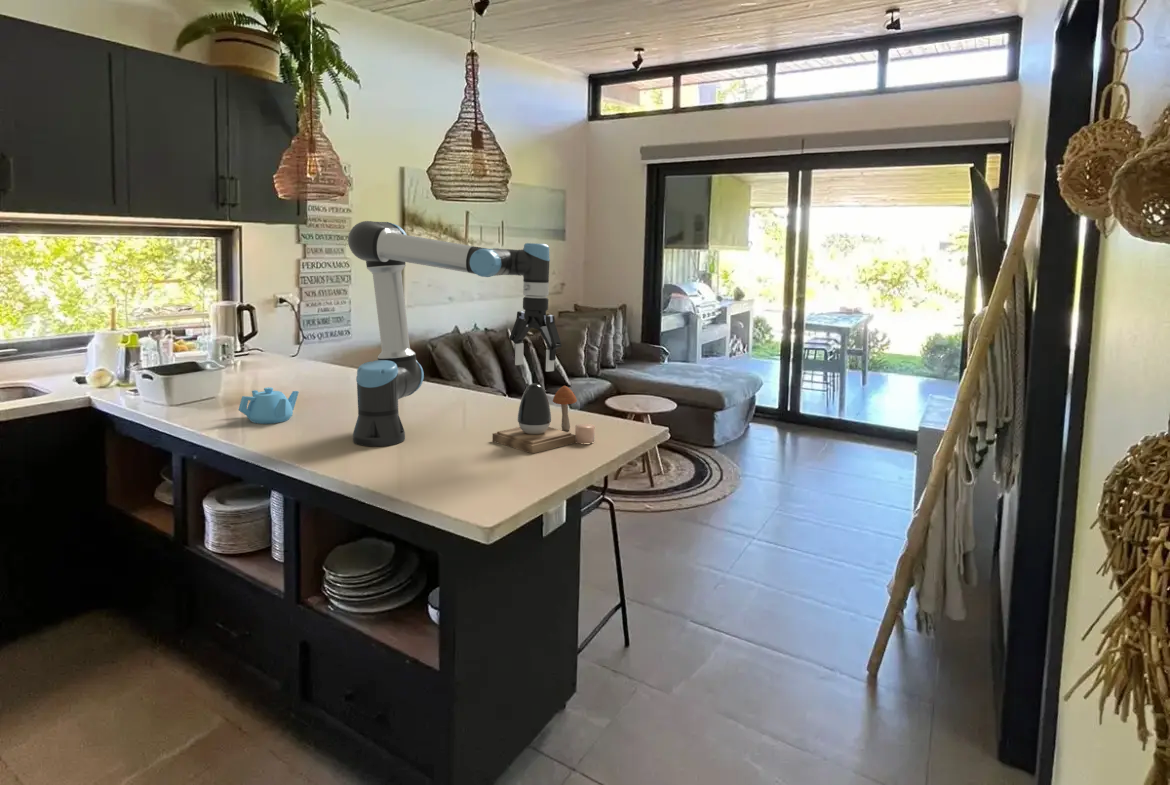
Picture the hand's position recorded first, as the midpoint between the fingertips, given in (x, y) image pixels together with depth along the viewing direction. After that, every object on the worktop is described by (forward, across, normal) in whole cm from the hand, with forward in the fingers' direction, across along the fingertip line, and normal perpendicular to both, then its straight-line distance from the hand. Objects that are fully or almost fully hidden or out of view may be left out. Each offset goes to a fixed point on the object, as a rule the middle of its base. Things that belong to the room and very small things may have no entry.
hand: (534, 368), depth 216 cm
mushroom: (+23, -3, +17) cm, 29 cm away
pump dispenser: (+20, 0, 0) cm, 20 cm away
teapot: (+24, -76, -47) cm, 93 cm away
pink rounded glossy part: (+23, +11, +12) cm, 28 cm away
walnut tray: (+23, +1, 0) cm, 23 cm away
